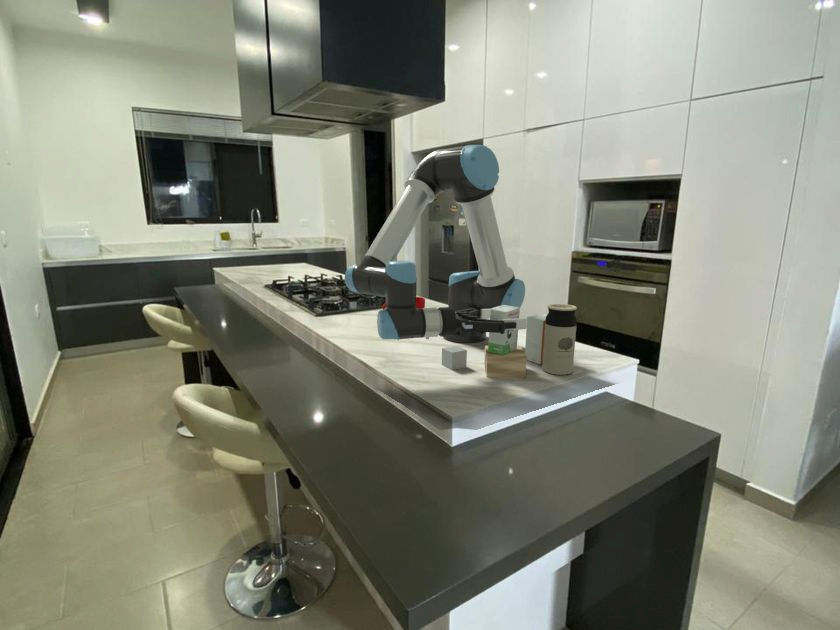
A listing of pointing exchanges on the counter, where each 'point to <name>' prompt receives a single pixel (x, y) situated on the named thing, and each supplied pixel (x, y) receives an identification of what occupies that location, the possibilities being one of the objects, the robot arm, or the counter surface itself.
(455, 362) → the grey cube
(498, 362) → the oak block
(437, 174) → the robot arm
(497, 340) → the ink box
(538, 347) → the small box
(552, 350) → the travel mug
